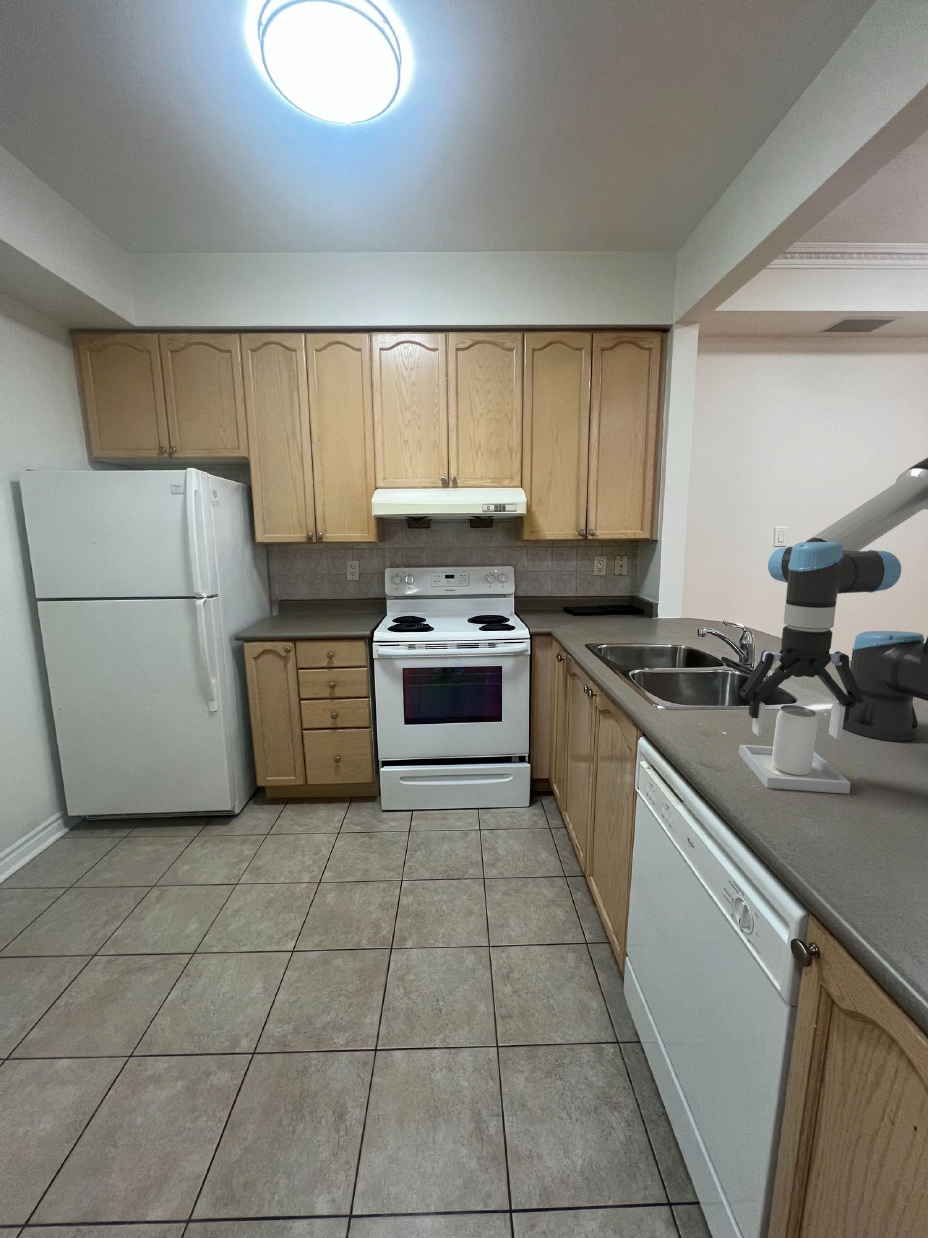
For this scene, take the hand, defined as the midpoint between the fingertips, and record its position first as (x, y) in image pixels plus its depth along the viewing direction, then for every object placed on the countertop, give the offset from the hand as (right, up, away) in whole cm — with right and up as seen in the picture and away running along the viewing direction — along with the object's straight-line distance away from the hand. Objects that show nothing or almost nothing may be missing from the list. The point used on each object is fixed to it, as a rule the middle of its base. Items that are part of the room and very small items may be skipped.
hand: (795, 735), depth 94 cm
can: (0, -7, +1) cm, 7 cm away
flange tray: (0, -8, +1) cm, 8 cm away
